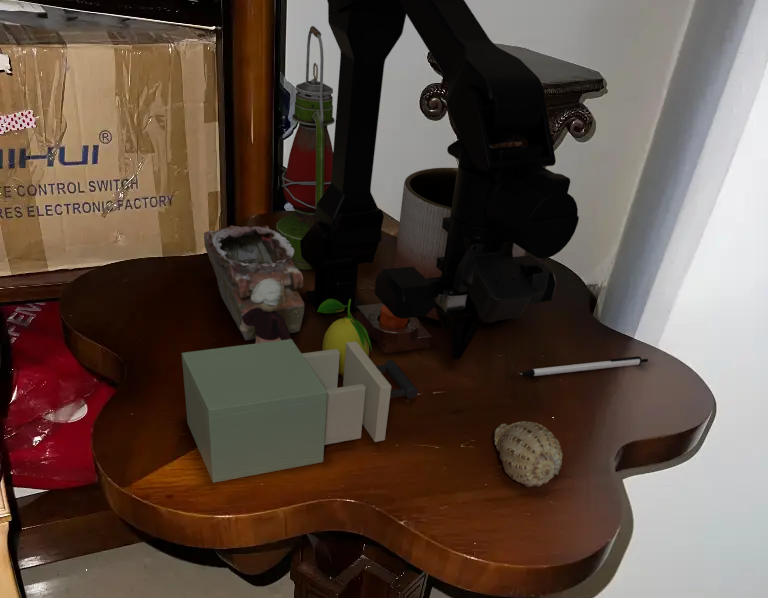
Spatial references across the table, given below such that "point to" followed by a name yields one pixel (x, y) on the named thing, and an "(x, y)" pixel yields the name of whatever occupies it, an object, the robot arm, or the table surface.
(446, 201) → the planter
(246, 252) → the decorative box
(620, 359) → the pen
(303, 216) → the lantern
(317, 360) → the drawer
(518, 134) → the robot arm
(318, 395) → the cabinet
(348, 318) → the lemon
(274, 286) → the grandmother figurine
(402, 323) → the button
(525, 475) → the seashell
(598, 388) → the table surface
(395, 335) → the control block
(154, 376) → the table surface
